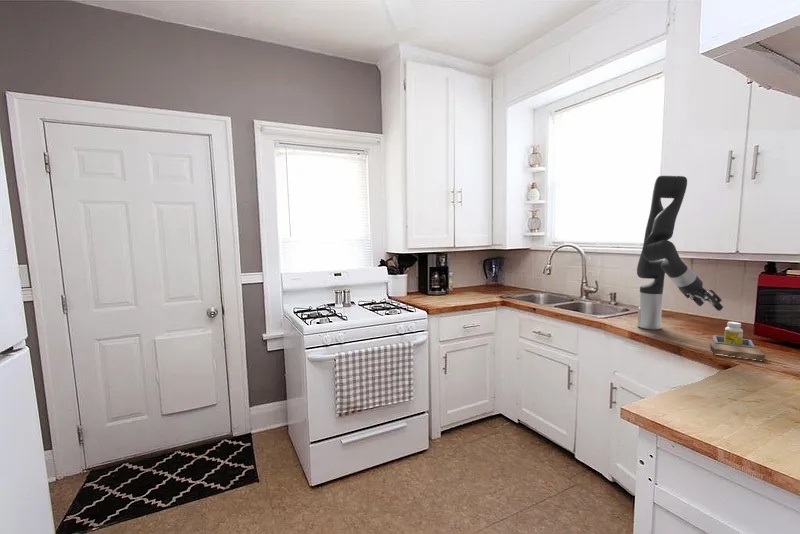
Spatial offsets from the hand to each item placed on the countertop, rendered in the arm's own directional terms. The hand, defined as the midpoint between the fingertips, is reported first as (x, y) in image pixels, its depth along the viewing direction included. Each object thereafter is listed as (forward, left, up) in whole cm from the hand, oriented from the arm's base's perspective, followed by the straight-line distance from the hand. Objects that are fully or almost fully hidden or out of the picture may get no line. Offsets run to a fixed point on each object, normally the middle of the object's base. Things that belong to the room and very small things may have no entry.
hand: (710, 306), depth 144 cm
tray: (+8, +7, -17) cm, 20 cm away
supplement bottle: (+8, +6, -17) cm, 20 cm away
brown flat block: (+8, -5, -17) cm, 19 cm away
